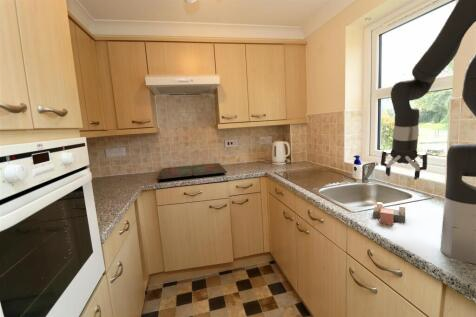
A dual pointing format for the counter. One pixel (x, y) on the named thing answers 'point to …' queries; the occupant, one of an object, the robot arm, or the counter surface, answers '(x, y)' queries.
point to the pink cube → (386, 216)
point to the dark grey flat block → (397, 214)
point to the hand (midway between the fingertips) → (401, 177)
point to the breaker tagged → (379, 205)
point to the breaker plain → (401, 209)
